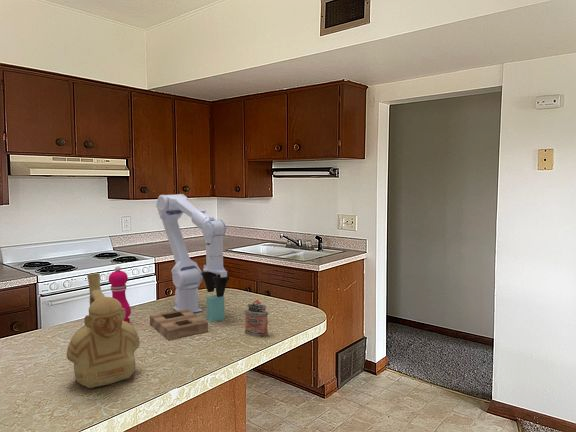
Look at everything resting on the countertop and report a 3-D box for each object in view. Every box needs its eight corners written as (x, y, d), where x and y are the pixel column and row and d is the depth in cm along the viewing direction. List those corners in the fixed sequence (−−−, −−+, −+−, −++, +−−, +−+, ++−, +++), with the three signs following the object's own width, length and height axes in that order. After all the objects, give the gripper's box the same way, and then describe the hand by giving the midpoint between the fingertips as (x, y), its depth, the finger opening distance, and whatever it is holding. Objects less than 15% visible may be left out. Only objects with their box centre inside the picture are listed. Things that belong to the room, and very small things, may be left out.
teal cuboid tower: (207, 319, 157) (206, 296, 156) (220, 316, 159) (219, 294, 159) (211, 321, 154) (210, 299, 153) (224, 319, 156) (224, 296, 156)
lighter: (242, 333, 142) (242, 302, 141) (248, 330, 145) (248, 300, 144) (264, 338, 138) (264, 306, 137) (270, 334, 141) (269, 303, 140)
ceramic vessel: (74, 402, 100) (68, 291, 97) (62, 370, 116) (57, 275, 114) (151, 382, 109) (147, 280, 107) (130, 355, 125) (126, 267, 123)
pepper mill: (135, 321, 154) (133, 264, 152) (125, 329, 147) (123, 268, 145) (114, 321, 155) (112, 264, 153) (104, 328, 148) (101, 268, 146)
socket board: (150, 324, 152) (149, 315, 151) (186, 317, 159) (186, 308, 159) (168, 340, 137) (168, 330, 137) (208, 331, 144) (207, 322, 144)
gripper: (195, 253, 158) (196, 291, 159) (212, 259, 146) (213, 300, 147) (213, 251, 162) (214, 288, 163) (232, 257, 150) (233, 297, 151)
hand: (215, 294), depth 156 cm, fingers open, 7 cm apart
